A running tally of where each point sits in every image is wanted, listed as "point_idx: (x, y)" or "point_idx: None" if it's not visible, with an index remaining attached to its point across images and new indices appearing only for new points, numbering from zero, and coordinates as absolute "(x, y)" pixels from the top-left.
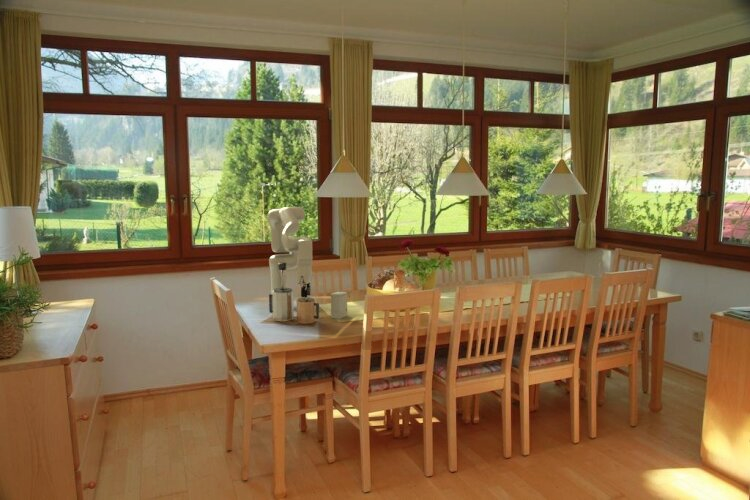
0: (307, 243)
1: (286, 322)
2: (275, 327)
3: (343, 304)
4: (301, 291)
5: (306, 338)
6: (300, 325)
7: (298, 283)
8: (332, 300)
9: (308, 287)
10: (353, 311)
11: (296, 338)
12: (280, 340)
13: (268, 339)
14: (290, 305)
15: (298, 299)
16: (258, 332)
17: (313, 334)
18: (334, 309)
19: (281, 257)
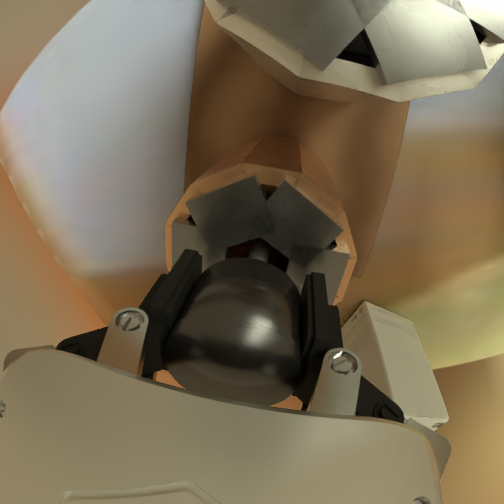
0: None
1: (244, 72)
2: (180, 34)
3: None
4: (159, 291)
5: (66, 233)
6: (189, 173)
7: (26, 353)
8: (378, 383)
9: (244, 397)
10: (467, 352)
11: (54, 197)
12: (26, 148)
13: (26, 100)
14: (286, 81)
15: (216, 194)
16: (93, 7)
17: (111, 250)
18: (360, 352)
19: None
